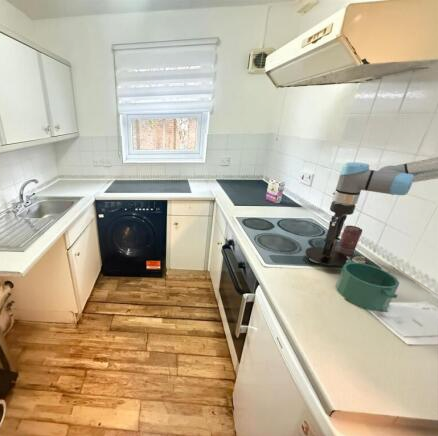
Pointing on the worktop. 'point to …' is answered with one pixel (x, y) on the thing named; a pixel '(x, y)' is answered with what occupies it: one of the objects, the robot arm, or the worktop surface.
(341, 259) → the lid
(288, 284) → the worktop surface
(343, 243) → the can
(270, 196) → the candy bar box
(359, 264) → the pot
